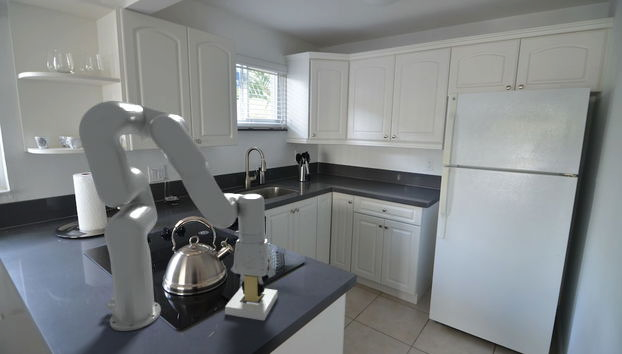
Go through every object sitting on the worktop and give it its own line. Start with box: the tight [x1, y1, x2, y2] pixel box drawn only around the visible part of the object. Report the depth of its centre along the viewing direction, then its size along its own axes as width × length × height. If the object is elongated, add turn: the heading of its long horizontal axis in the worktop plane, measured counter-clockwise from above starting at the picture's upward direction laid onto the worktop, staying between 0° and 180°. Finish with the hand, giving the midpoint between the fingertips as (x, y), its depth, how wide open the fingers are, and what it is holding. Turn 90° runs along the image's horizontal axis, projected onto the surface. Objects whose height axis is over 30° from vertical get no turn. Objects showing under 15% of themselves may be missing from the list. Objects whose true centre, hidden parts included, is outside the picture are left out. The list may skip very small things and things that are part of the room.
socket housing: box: [224, 286, 278, 321], centre depth 94 cm, size 12×12×2 cm
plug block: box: [244, 275, 262, 302], centre depth 93 cm, size 4×4×8 cm
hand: (253, 292), depth 93 cm, fingers closed on plug block, 4 cm apart
